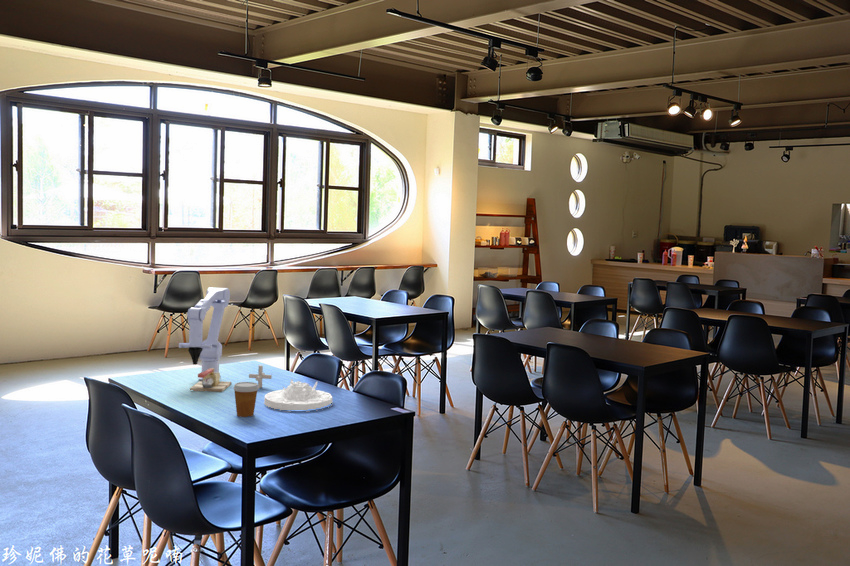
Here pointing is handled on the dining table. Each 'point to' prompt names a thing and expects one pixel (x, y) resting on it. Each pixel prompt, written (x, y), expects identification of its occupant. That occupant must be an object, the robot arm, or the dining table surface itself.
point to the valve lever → (205, 373)
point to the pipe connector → (260, 376)
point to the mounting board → (218, 388)
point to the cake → (298, 397)
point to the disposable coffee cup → (245, 398)
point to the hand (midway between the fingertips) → (195, 364)
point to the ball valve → (211, 380)
